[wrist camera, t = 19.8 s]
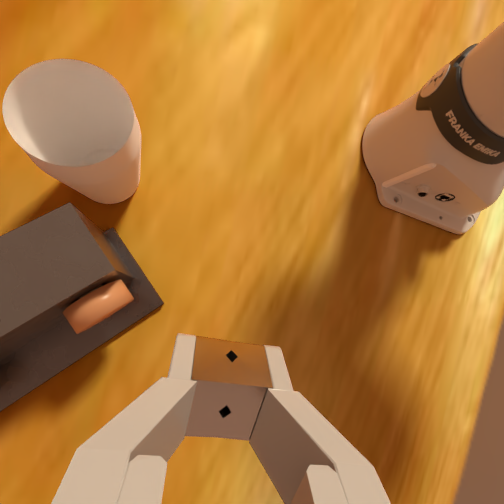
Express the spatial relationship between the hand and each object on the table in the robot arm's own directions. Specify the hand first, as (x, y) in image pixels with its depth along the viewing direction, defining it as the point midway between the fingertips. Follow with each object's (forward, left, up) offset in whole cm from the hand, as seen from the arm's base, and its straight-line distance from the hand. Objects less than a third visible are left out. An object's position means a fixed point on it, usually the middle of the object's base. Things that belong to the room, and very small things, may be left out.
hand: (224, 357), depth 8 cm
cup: (+15, -10, -26) cm, 31 cm away
